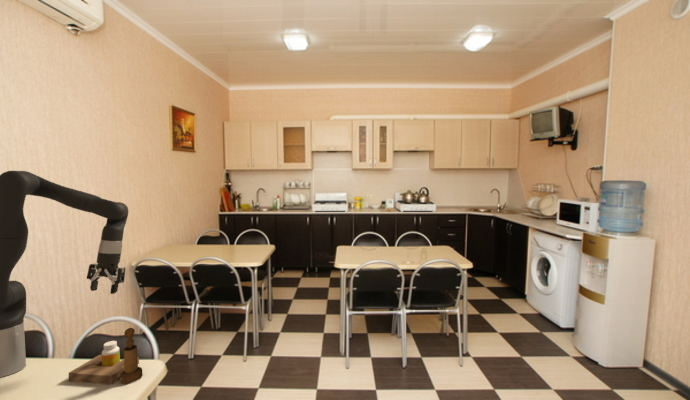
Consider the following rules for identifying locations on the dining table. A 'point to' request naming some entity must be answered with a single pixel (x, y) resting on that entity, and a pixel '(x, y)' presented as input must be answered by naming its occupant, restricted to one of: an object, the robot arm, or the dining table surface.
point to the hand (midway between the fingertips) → (103, 292)
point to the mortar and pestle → (130, 360)
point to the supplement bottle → (110, 354)
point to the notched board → (97, 372)
